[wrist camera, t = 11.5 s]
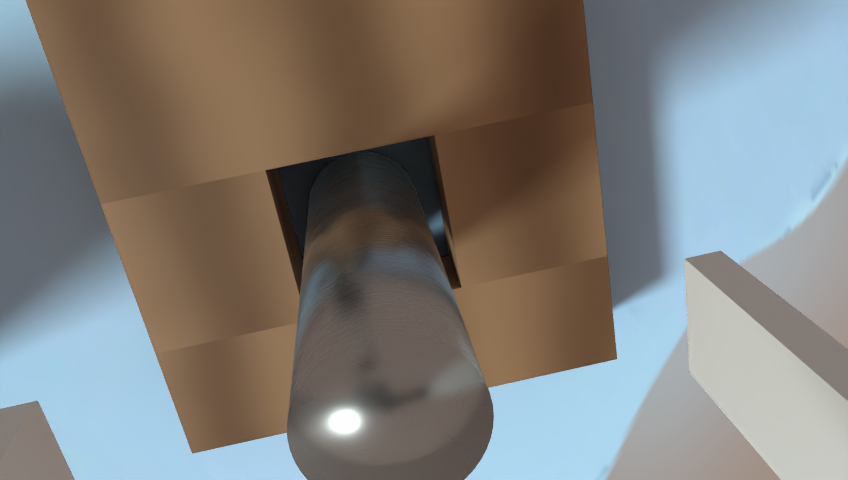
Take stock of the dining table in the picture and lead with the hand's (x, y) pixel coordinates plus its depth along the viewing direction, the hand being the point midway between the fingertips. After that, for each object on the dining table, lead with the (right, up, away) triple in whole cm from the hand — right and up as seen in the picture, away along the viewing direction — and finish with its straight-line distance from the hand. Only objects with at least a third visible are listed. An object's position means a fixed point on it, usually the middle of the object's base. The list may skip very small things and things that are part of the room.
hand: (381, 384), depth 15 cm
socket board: (-2, +8, +11) cm, 14 cm away
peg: (-1, +4, +12) cm, 13 cm away
